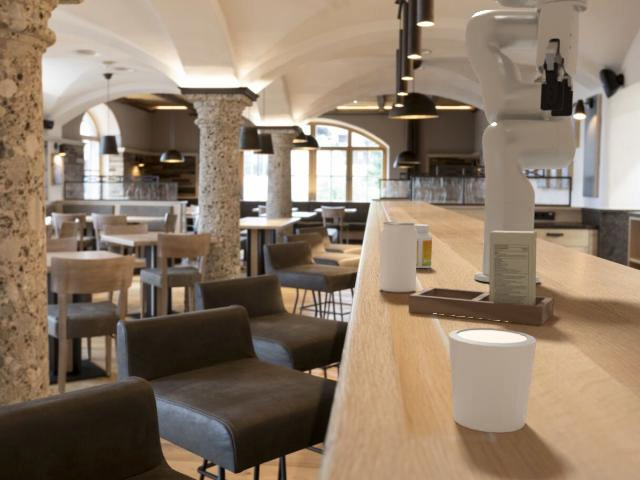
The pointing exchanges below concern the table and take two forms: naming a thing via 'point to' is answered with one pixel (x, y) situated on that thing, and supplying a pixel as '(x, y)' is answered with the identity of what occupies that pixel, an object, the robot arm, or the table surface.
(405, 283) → the can
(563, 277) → the table surface
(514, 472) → the table surface
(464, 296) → the divided wooden tray
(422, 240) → the supplement bottle
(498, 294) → the skincare box
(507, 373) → the white tapered cup
